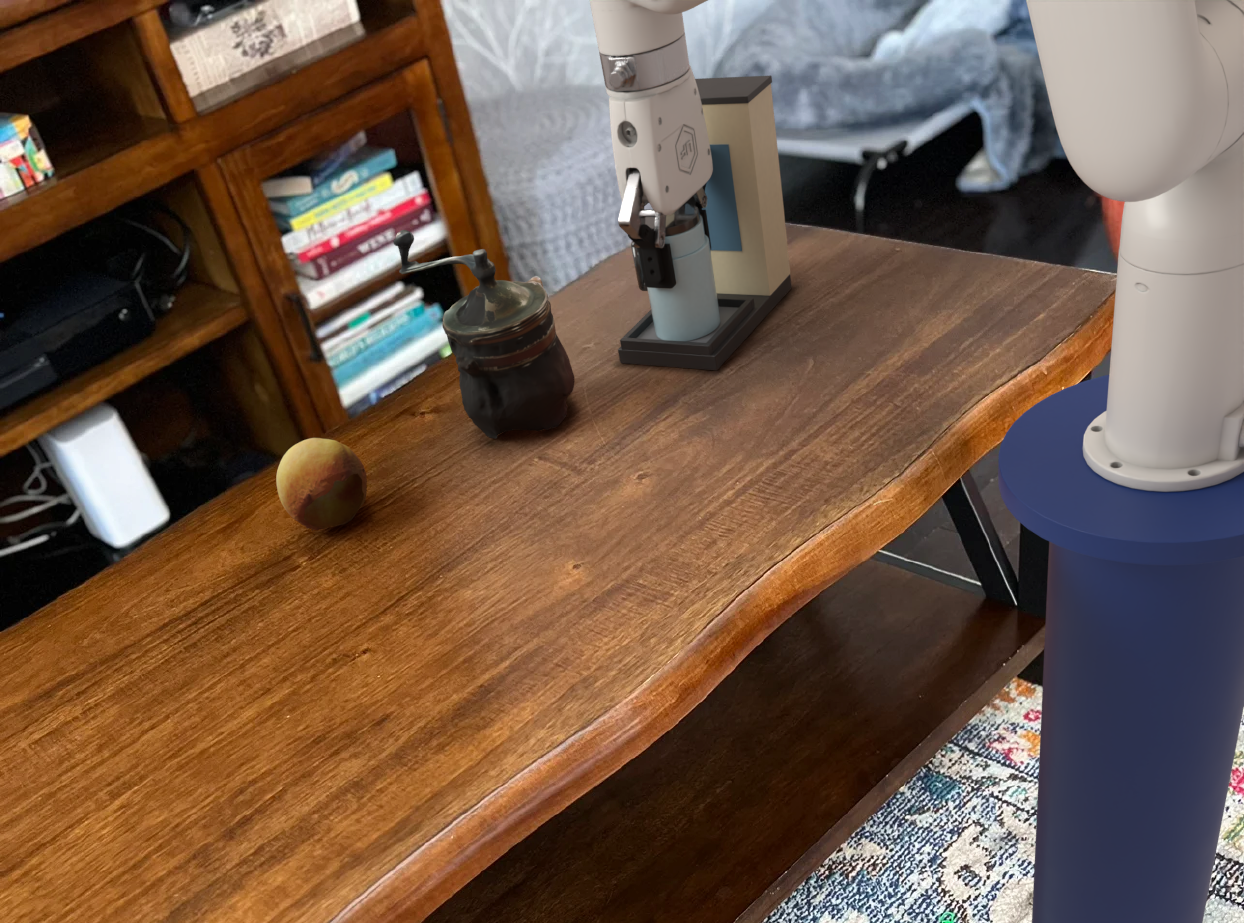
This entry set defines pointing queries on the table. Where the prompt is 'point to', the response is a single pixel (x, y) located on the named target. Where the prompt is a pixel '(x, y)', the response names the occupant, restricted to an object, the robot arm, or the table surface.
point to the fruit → (321, 483)
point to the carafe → (684, 280)
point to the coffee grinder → (503, 348)
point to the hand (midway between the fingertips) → (678, 267)
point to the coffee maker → (732, 227)
